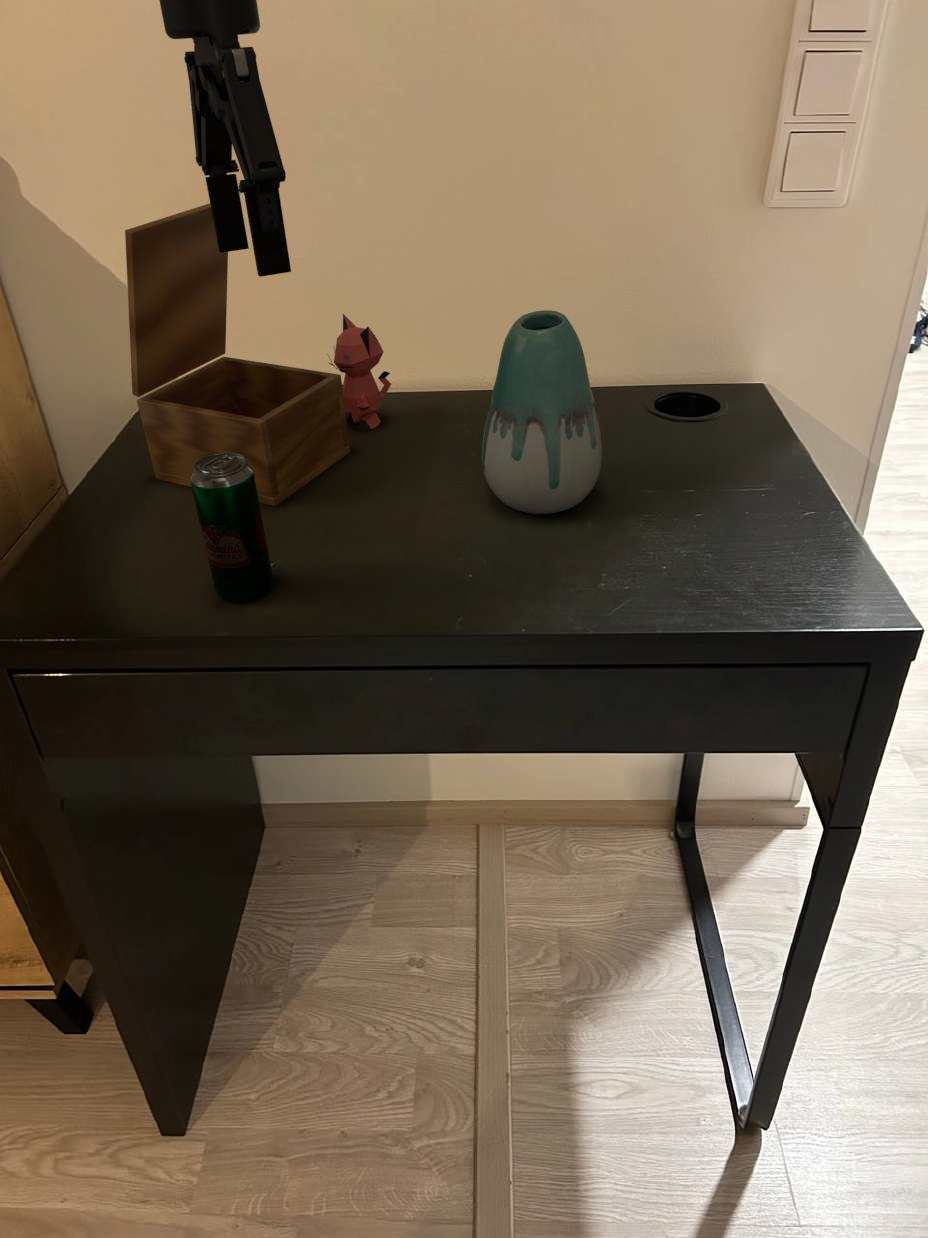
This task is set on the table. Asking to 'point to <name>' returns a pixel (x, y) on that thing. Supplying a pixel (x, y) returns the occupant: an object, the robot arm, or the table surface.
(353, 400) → the cat figurine
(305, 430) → the chest
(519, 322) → the vase
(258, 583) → the soda can
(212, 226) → the chest lid
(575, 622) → the table surface
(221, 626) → the table surface
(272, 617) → the table surface
